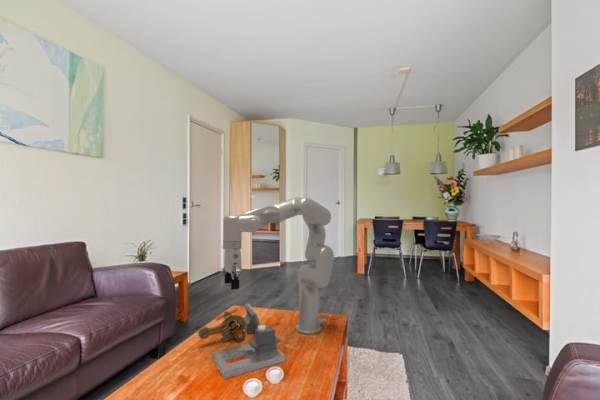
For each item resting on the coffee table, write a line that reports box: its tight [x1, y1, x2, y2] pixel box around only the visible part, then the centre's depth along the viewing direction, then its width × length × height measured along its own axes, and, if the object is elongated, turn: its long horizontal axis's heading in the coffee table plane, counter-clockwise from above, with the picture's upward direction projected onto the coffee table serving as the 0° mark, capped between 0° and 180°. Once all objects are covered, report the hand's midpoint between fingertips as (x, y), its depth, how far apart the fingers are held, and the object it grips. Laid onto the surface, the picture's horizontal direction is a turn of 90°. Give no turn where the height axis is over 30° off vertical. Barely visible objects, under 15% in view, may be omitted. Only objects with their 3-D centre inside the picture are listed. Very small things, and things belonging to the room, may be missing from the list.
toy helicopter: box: [197, 308, 246, 343], centre depth 131 cm, size 8×21×14 cm, turn 123°
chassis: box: [212, 342, 286, 380], centre depth 117 cm, size 24×16×2 cm, turn 120°
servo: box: [248, 324, 282, 354], centre depth 120 cm, size 12×4×10 cm, turn 120°
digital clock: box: [243, 302, 262, 334], centre depth 145 cm, size 16×9×11 cm, turn 12°
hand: (231, 285), depth 122 cm, fingers open, 9 cm apart
